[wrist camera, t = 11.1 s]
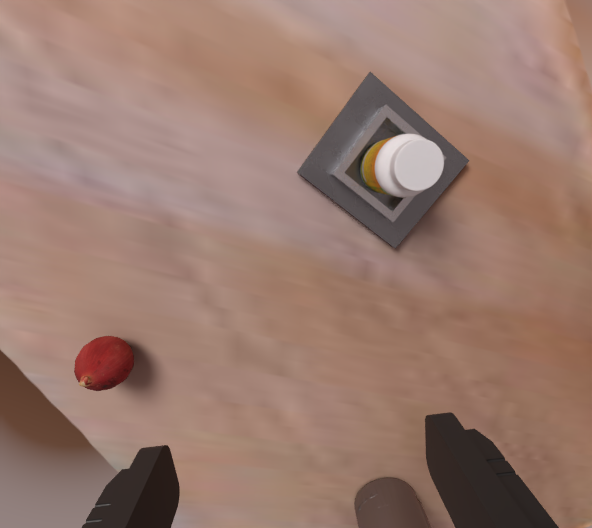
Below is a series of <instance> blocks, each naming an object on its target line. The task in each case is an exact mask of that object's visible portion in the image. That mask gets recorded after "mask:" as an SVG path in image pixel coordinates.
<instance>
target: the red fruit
mask: <svg viewBox="0 0 592 528" xmlns="http://www.w3.org/2000/svg"><path fill="white" fill-rule="evenodd" d="M133 366H134V356H133V352H132V350H131V348H130V346H129V345H128V344H127V343H126V342H125V341H124V340H122V339H120V338H118V337H113V336H104V337H99V338H96V339H94V340H93V341H91V342H90V343H88V344H87V345H85V346H84V347H83V348H82V350H81V351H80V353H79V354H78V356H77V358H76V360H75V370H74V372H75V375H76V378H77V380H78V382H79V383H80V384H79V385H80V386H83V387H85V388H87V389H90V390H95V391H101V390H107V389H111V388H113V387H115V386H116V385H118V384H120V383H121V382H123V381H124V380H125V379H126V378H127V377H128V375H129V373H130V372H131V370H132V368H133Z"/></svg>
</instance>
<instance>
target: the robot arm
mask: <svg viewBox="0 0 592 528" xmlns="http://www.w3.org/2000/svg"><path fill="white" fill-rule="evenodd" d="M425 431H426V459H427V464H428V468H429V472H430V475H431V477H432V480H433V482H434V484H435V486H436V488H437V490H438V492H439V494H440V496H441V498H442V500H443V503H444V505H445V507H446V509H447V511H448V513H449V515H450V517H451V519H452V521H453V523H454V525H455V528H559V527H558V526H557V525H556V524H555V522H554V521H553V520H552V518H551V517H550V516H549V514H548V513H547V512H546V511H545V509H544V508H543V507H542V505H541V504H540V503H539V502H538V500H537V499H536V498H535V496H534V495H533V494H532V493H531V491H530V490H529V489H528V487H527V486H526V485H525V483H524V482H523V481H522V480H521V478H520V477H519V476H518V475H516V473H515V471H514V469H513V468H512V467H511V465H510V464H509V463H508V462H507V461H505V458H504V456H503V455H502V454H501V452H500V451H499V450H498V449H497V447H496V446H495V445H494V443H493V442H492V441H491V440H489V439H488V438H486V437H485V436H484V435H482V434H481V433H480V432H478V431H477V430H475V429H470V430H465V429H464V428H463V426H462V425H461V424H460V422H459V421H458V419H457V418H456V417H455V415H454V414H453V413H442V414H433V415H427V416H426V418H425ZM178 502H179V482H178V478H177V474H176V470H175V467H174V463H173V459H172V455H171V451H170V448H169V447H168V446H167V445H164V446H155V447H147V448H142V449H140V450H139V452H138V453H137V455H136V457H135V459H134V461H133V463H132V464H131V466H130V468H129V469H122V470H121V471H120V472H119V473H118V474H117V475H116V476H115V477H114V478H113V479H112V480H111V482H110V483H108V485H107V486H106V487H105V489H104V490H103V492H102V494H101V496H100V497H99V499H98V501H97V502H96V504H95V508H93V509H92V511H91V513H90V514H89V516H88V518H87V519H86V524H84V525H83V526H82V528H171V525H172V522H173V519H174V516H175V513H176V510H177V507H178ZM354 504H355V512H356V517H357V521H358V526H359V528H431V526H430V524H429V521H428V519H427V516H426V514H425V512H424V509H423V507H422V504H421V502H420V501H418V500H417V497H416V495H415V492H414V491H413V489H412V488H411V486H410V485H409V484H407V483H406V482H404V481H402V480H399V479H394V478H382V479H378V480H375V481H372V482H370V483H368V484H366V485H365V486H364V487H363V488H362V489H361V490H360V491H359V492H358V494H357V496H356V498H355V503H354Z"/></svg>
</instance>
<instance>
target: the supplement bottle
mask: <svg viewBox="0 0 592 528" xmlns="http://www.w3.org/2000/svg"><path fill="white" fill-rule="evenodd" d="M443 167H444V158H443V154H442V151H441V150H440V148H439V147H438V146H437V145H436V144H435V143H434V142H432V141H430V140H427V139H426V138H424V137H422V136H420V135H416V134H402V135H398V136H395V137H392V138H388V139H385V140H382V141H379V142H377V143H375V144H373V145H372V146H370V147H369V148H368V149H367V150H366V152H365V153H364V155H363V157H362V159H361V163H360V174H361V177H362V180H363V182H364V183H365V185H366V186H367V187H368V188H370V189H371V190H373V191H375V192H378V193H382V194H387V195H391V196H396V197H412V196H415V195H417V194H419V193H421V192H423V191H424V190H425V189H428V188H430V187H431V186H433V185H434V184H435V183H436V182H437V181H438V179H439V178H440V176H441V174H442V171H443Z"/></svg>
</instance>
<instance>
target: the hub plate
mask: <svg viewBox="0 0 592 528" xmlns="http://www.w3.org/2000/svg"><path fill="white" fill-rule="evenodd" d="M402 134H416V135H420V136H422V137H424V138H426V139H427V140H430V141H432V142H434V143H435V144H436V145H437V146H438V147H439V148H440V150H441V151H442V154H443V158H444V167H443V171H442V174H441V176H440V178H439V179H438V181H437V182H436V183H435V184H434V185H433V186H431V187H430V188H428V189H425V190H424V191H423V192H421V193H419V194H417V195H415V196H412V197H396V196H391V195H387V194H382V193H378V192H375V191H373V190H371V189H370V188H368V187H367V186H366V185H365V183H364V182H363V180H362V177H361V174H360V163H361V159H362V157H363V155H364V153H365V152H366V150H367V149H368V148H369V147H370V146H372V145H373V144H375V143H377V142H379V141H382V140H385V139H388V138H392V137H395V136H398V135H402ZM468 162H469V160H468V159H467V158H466V157H465V156H464V155H463V154H461V153H460V152H459V151H458V150H457V149H456V148H455V147H454V146H453V145H451V144H450V143H449V142H448V141H447V140H446V139H445V138H444V137H442V136H441V135H440V134H439V133H438V132H437V131H436V130H435V129H434V128H432V127H431V126H430V125H429V124H428V123H427V122H426V121H425V120H424V119H422V118H421V117H420V116H419V115H418V114H417V113H416V112H415V111H413V110H412V109H411V108H410V107H409V106H408V105H407V104H406V103H405V102H403V101H402V100H401V99H400V98H399V97H398V96H397V95H396V94H394V93H393V92H392V91H391V90H390V89H389V88H388V87H387V86H386V85H384V84H383V83H382V82H381V81H380V80H379V79H378V78H377V77H376V76H374V75H373V74H372V73H371V72H369V74H368V75H367V76H366V77H365V79H364V80H363V82H362V83H361V84H360V86H359V87H358V89H357V90H356V91H355V93H354V94H353V95H352V97H351V98H350V100H349V101H348V102H347V104H346V105H345V106H344V108H343V109H342V111H341V112H340V113H339V115H338V116H337V118H336V119H335V120H334V122H333V123H332V124H331V126H330V127H329V129H328V130H327V131H326V133H325V134H324V135H323V137H322V138H321V140H320V141H319V142H318V144H317V145H316V147H315V148H314V149H313V151H312V152H311V153H310V155H309V156H308V158H307V159H306V160H305V162H304V163H303V164H302V166H301V167H300V169H299V170H298V171H297V173H299V174H300V175H301V176H303V177H304V178H305V179H306V180H308V181H309V182H310V183H312V184H313V185H314V186H315V187H317V188H318V189H319V190H321V191H322V192H323V193H324V194H326V195H327V196H328V197H330V198H331V199H332V200H333V201H335V202H336V203H337V204H339V205H340V206H341V207H342V208H344V209H345V210H346V211H347V212H349V213H350V214H351V215H353V216H354V217H355V218H356V219H358V220H359V221H360V222H362V223H363V224H364V225H365V226H367V227H368V228H369V229H371V230H372V231H373V232H374V233H376V234H377V235H378V236H380V237H381V238H382V239H383V240H385V241H386V242H387V243H389V244H390V245H391V246H392V247H394V248H396V247H397V246H398V245H399V244H400V242H401V241H402V240H403V239H404V238H405V236H406V235H407V234H408V233H409V232H410V231H411V229H412V228H413V227H414V226H415V225H416V223H417V222H418V221H419V220H420V219H421V217H422V216H423V215H424V214H425V213H426V212H427V210H428V209H429V208H430V207H431V206H432V204H433V203H434V202H435V201H436V200H437V198H438V197H439V196H440V195H441V194H442V193H443V191H444V190H445V189H446V188H447V187H448V185H449V184H450V183H451V182H452V181H453V179H454V178H455V177H456V176H457V175H458V174H459V172H460V171H461V170H462V169H463V168H464V166H465V165H466V164H467V163H468Z"/></svg>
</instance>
